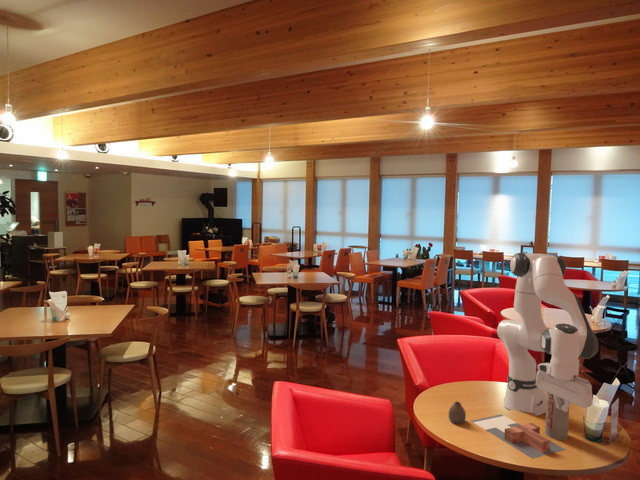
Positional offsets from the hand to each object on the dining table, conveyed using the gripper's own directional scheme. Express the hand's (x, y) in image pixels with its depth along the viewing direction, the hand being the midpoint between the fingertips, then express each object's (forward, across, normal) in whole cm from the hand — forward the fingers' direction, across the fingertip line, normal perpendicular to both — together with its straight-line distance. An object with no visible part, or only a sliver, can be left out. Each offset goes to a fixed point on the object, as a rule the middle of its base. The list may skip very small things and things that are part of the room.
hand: (561, 409), depth 161 cm
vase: (+19, +38, +14) cm, 44 cm away
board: (+19, +20, 0) cm, 27 cm away
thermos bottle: (+19, +14, -15) cm, 28 cm away
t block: (+18, +12, 0) cm, 22 cm away
